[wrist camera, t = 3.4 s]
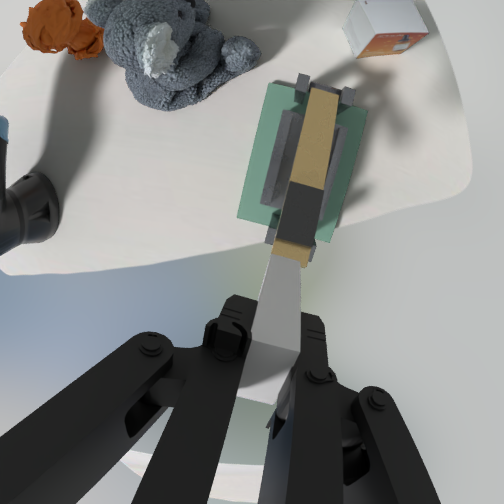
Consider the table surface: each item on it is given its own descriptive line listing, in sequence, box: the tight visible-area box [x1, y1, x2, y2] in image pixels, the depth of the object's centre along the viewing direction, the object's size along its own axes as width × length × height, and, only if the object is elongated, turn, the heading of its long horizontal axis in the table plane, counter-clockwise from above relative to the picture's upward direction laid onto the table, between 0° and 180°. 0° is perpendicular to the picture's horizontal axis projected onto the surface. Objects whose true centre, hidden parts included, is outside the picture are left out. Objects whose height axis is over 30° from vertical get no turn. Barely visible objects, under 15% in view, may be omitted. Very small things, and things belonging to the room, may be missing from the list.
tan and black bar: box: [271, 81, 342, 268], centre depth 24 cm, size 20×3×2 cm
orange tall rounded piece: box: [20, 0, 104, 60], centre depth 24 cm, size 11×11×18 cm
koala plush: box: [83, 0, 261, 111], centre depth 25 cm, size 17×18×20 cm
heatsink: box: [260, 73, 356, 262], centre depth 33 cm, size 20×8×10 cm, turn 167°
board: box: [237, 83, 368, 243], centre depth 37 cm, size 20×14×1 cm
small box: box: [343, 0, 429, 59], centre depth 24 cm, size 8×6×10 cm
